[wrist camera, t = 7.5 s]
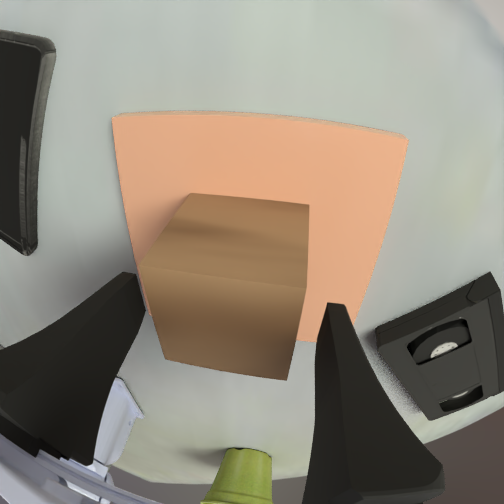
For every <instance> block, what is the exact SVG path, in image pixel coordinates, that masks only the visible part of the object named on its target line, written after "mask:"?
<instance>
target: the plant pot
mask: <svg viewBox="0 0 504 504" xmlns="http://www.w3.org/2000/svg"><path fill="white" fill-rule="evenodd" d="M271 487H272V458H271V457H269V456H268V455H267V454H266V453H264V452H262V451H257V450H253V449H242V450H237V449H235V448H231V449H228V450H227V451H226V453H225V456H224V458H223V461H222V463H221V466H220V468H219V471H218V473H217V475H216V478H215V480H214V482H213V485H212V487H211V489H210V491H208V492H207V494H206V496H205V499H204V500H201V502H200V503H201V504H273V502H272V488H271Z"/></svg>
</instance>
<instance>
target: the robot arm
mask: <svg viewBox="0 0 504 504" xmlns="http://www.w3.org/2000/svg"><path fill="white" fill-rule="evenodd" d="M145 312H146V309H145V306H144V302H143V299H142V295H141V291H140V287H139V283H138V280H137V276H136V274H132V273H127V272H122V273H121V274H119V275H118V276H116V277H115V278H114V279H112V280H111V281H110V282H108V283H107V284H106V285H105V286H103V287H102V288H101V289H99V290H98V291H97V292H95V293H94V294H93V295H92V296H90V297H89V298H88V299H86V300H85V301H84V302H82V303H81V304H80V305H78V306H77V307H76V308H74V309H73V310H71V311H70V312H69V313H67V314H66V315H64V316H63V317H62V318H60V319H59V320H57V321H56V322H54V323H53V324H51V325H49V326H48V327H46V328H44V329H43V330H41V331H39V332H37V333H35V334H33V335H32V336H30V337H28V338H26V339H24V340H22V341H20V342H18V343H15V344H13V345H11V346H9V347H6V348H4V349H1V350H0V495H1V496H2V497H3V498H4V499H5V500H6V501H7V502H8V503H9V504H109V503H110V501H111V502H113V503H115V504H163V503H159V502H156V501H153V500H150V499H147V498H144V497H141V496H138V495H136V494H133V493H130V492H128V491H125V490H123V489H120V488H118V487H115V486H114V483H113V480H112V477H111V475H110V473H108V472H107V471H108V467H106V466H105V465H110V464H112V463H114V462H115V461H117V460H118V459H119V458H120V456H121V455H122V452H123V450H124V447H125V445H126V442H127V439H128V437H129V434H130V432H131V429H132V427H133V424H134V422H135V419H136V417H137V418H140V419H143V418H144V415H143V413H142V412H141V410H140V409H139V407H138V405H137V404H136V402H135V400H134V399H133V397H132V395H131V394H130V392H129V390H128V389H127V387H126V385H125V383H124V382H123V381H122V380H121V379H119V378H116V375H117V373H118V371H119V369H120V367H121V365H122V363H123V361H124V359H125V357H126V355H127V353H128V351H129V349H130V348H131V346H132V344H133V342H134V340H135V338H136V336H137V334H138V331H139V329H140V326H141V323H142V320H143V318H144V315H145ZM444 491H445V478H444V471H443V466H442V464H441V463H440V462H439V461H438V460H437V459H436V458H435V457H434V456H433V455H432V454H431V453H430V452H429V450H427V448H426V447H425V446H424V445H423V444H422V442H421V441H420V440H419V439H418V438H417V437H416V435H415V434H414V433H413V432H412V430H411V429H410V428H409V426H408V425H407V424H406V422H405V421H404V419H403V418H402V417H401V415H400V414H399V413H398V411H397V410H396V408H395V407H394V405H393V404H392V402H391V401H390V399H389V397H388V396H387V394H386V392H385V391H384V389H383V387H382V386H381V384H380V382H379V380H378V379H377V377H376V375H375V373H374V371H373V369H372V367H371V365H370V363H369V361H368V359H367V357H366V355H365V352H364V350H363V348H362V346H361V344H360V341H359V339H358V337H357V334H356V332H355V329H354V327H353V324H352V322H351V319H350V316H349V314H348V311H347V308H346V306H345V305H344V304H339V303H330V302H327V305H326V309H325V312H324V316H323V319H322V323H321V326H320V330H319V333H318V336H317V342H316V354H315V426H314V435H313V443H312V450H311V457H310V463H309V470H308V475H307V481H306V486H305V492H304V496H303V501H302V504H423V502H424V501H427V500H430V499H432V498H435V497H437V496H439V495H441V494H442V493H443V492H444Z"/></svg>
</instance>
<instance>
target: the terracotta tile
mask: <svg viewBox="0 0 504 504" xmlns="http://www.w3.org/2000/svg"><path fill="white" fill-rule="evenodd" d="M112 126H113V135H114V143H115V151H116V159H117V166H118V173H119V179H120V185H121V191H122V197H123V203H124V208H125V214H126V219H127V224H128V229H129V234H130V239H131V243H132V248H133V253H134V257H135V261H136V266H137V270H138V274H139V278H140V282H141V286H142V290H143V294H144V297H145V301H146V305H147V308H148V312H149V315H151V316H152V314H151V311H150V307H149V304H148V300H147V296H146V292H145V289H144V285H143V281H142V277H141V273H140V269H139V264H140V262H141V261H142V259H143V258H144V256H145V255H146V253H147V252H148V251H149V249H150V248H151V246H152V245H153V243H154V242H155V241H156V239H157V238H158V236H159V235H160V234H161V232H162V231H163V229H164V228H165V227H166V225H167V224H168V223H169V221H170V220H171V218H172V217H173V216H174V214H175V213H176V212H177V210H178V209H179V208H180V206H181V205H182V204H183V202H184V201H185V200H186V198H187V197H188V196H189V194H190V193H199V194H212V195H223V196H234V197H245V198H255V199H265V200H274V201H283V202H292V203H300V204H308V205H309V245H308V270H307V289H306V294H305V299H304V304H303V309H302V314H301V319H300V324H299V328H298V333H297V338H296V340H300V341H309V342H317V336H318V333H319V330H320V326H321V323H322V319H323V316H324V312H325V309H326V305H327V302H330V303H339V304H344V305H345V306H346V308H347V311H348V314H349V316H350V319H351V322H352V324H354V322H355V319H356V317H357V314H358V311H359V309H360V306H361V303H362V301H363V298H364V295H365V293H366V290H367V287H368V284H369V281H370V279H371V276H372V273H373V270H374V267H375V264H376V261H377V258H378V255H379V252H380V248H381V245H382V242H383V239H384V236H385V232H386V229H387V226H388V222H389V219H390V215H391V212H392V208H393V204H394V201H395V197H396V193H397V189H398V185H399V181H400V177H401V173H402V169H403V164H404V160H405V155H406V151H407V146H408V141H409V140H408V139H407V138H406V137H405V136H404V135H402V134H398V133H393V132H388V131H384V130H379V129H374V128H368V127H363V126H357V125H351V124H345V123H339V122H332V121H325V120H318V119H310V118H302V117H293V116H283V115H272V114H259V113H243V112H220V111H159V112H136V113H121V114H119V115H117V116H114V117H112Z"/></svg>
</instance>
